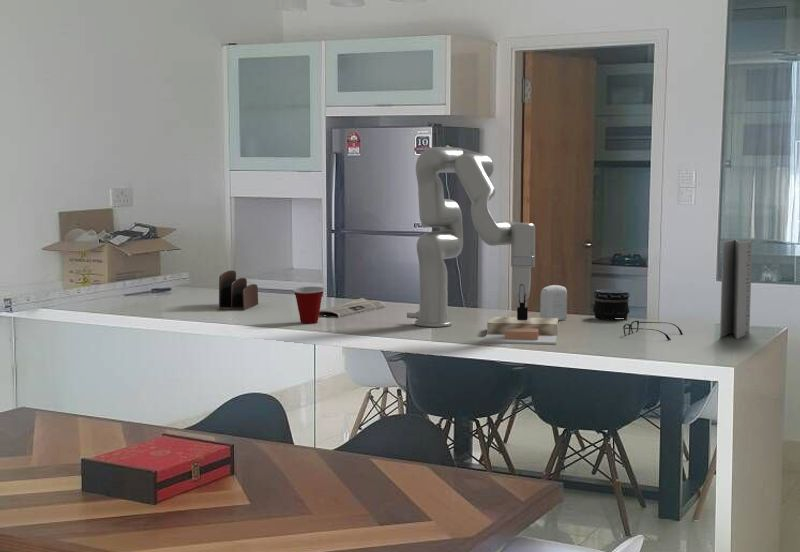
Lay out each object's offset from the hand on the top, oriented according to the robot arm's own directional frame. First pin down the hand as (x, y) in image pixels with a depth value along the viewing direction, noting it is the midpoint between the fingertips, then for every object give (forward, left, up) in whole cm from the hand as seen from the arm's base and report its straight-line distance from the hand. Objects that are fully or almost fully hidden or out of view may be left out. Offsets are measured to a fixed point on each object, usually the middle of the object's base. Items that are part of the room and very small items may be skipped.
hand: (522, 319), depth 338 cm
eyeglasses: (+41, +8, -6) cm, 42 cm away
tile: (0, -7, -3) cm, 8 cm away
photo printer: (+9, +38, -5) cm, 40 cm away
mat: (0, -8, -5) cm, 10 cm away
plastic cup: (-74, +18, -5) cm, 76 cm away
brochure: (+67, +13, -5) cm, 68 cm away
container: (+29, +46, -6) cm, 55 cm away
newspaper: (-67, +51, -6) cm, 84 cm away
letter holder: (-111, +56, -6) cm, 125 cm away
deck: (0, +7, -5) cm, 9 cm away
